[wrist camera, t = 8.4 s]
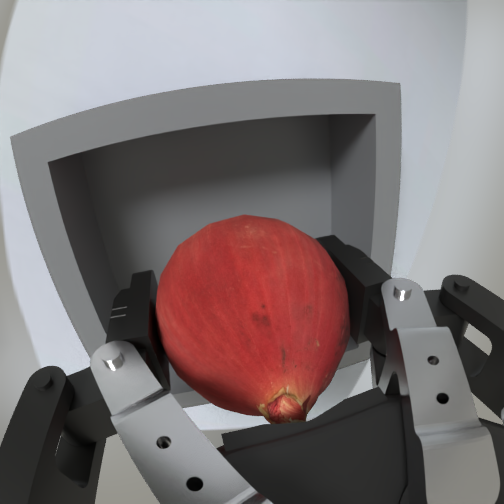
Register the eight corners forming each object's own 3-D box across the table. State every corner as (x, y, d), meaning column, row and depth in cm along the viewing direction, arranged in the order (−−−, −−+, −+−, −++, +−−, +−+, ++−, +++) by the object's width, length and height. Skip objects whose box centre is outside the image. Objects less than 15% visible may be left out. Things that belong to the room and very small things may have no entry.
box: (55, 125, 11) (9, 136, 7) (341, 83, 13) (400, 83, 9) (128, 355, 17) (125, 415, 13) (339, 309, 19) (374, 356, 15)
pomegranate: (314, 201, 13) (457, 318, 6) (278, 318, 15) (352, 463, 8) (167, 177, 11) (166, 318, 4) (152, 310, 13) (158, 488, 6)
